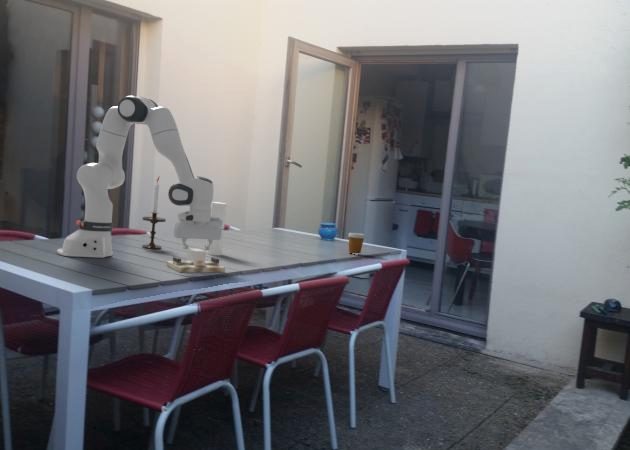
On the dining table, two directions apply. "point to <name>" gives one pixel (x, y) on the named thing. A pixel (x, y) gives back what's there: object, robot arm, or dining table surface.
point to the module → (196, 256)
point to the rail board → (189, 267)
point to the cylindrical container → (220, 212)
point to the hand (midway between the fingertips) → (196, 249)
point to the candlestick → (154, 220)
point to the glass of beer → (355, 242)
